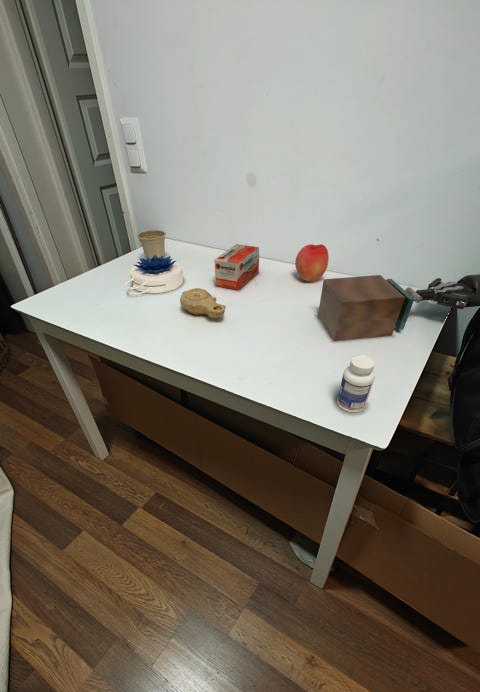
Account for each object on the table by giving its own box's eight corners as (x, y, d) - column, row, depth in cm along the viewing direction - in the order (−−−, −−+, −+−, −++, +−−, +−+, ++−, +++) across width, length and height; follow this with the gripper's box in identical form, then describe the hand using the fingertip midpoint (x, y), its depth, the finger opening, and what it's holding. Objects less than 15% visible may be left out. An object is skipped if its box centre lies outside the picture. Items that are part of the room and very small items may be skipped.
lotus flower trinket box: (152, 247, 109) (104, 267, 97) (191, 256, 103) (144, 279, 91) (156, 269, 114) (111, 291, 102) (193, 279, 108) (149, 304, 96)
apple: (323, 274, 109) (329, 240, 102) (326, 286, 102) (332, 251, 95) (293, 273, 110) (296, 239, 103) (293, 285, 103) (297, 250, 96)
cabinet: (370, 311, 91) (380, 274, 84) (391, 335, 83) (405, 297, 76) (317, 315, 90) (323, 279, 83) (334, 341, 81) (342, 302, 74)
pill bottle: (343, 391, 68) (354, 349, 61) (369, 401, 66) (383, 359, 59) (331, 406, 65) (341, 363, 58) (358, 417, 63) (372, 374, 56)
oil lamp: (222, 326, 87) (221, 307, 83) (171, 318, 90) (168, 300, 86) (235, 307, 94) (235, 289, 90) (187, 301, 97) (185, 283, 93)
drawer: (397, 306, 91) (407, 277, 85) (419, 328, 83) (432, 297, 77) (333, 312, 89) (339, 282, 84) (350, 335, 81) (357, 303, 76)
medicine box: (236, 268, 113) (236, 242, 107) (259, 272, 110) (260, 246, 105) (215, 286, 103) (213, 259, 98) (239, 291, 101) (238, 263, 95)
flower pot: (148, 255, 123) (143, 229, 116) (173, 257, 121) (169, 230, 115) (138, 265, 116) (132, 238, 110) (164, 267, 115) (159, 239, 109)
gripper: (472, 264, 87) (407, 269, 85) (508, 286, 77) (437, 292, 76) (458, 293, 92) (398, 298, 90) (491, 317, 83) (424, 323, 81)
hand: (416, 295), depth 83 cm, fingers closed
